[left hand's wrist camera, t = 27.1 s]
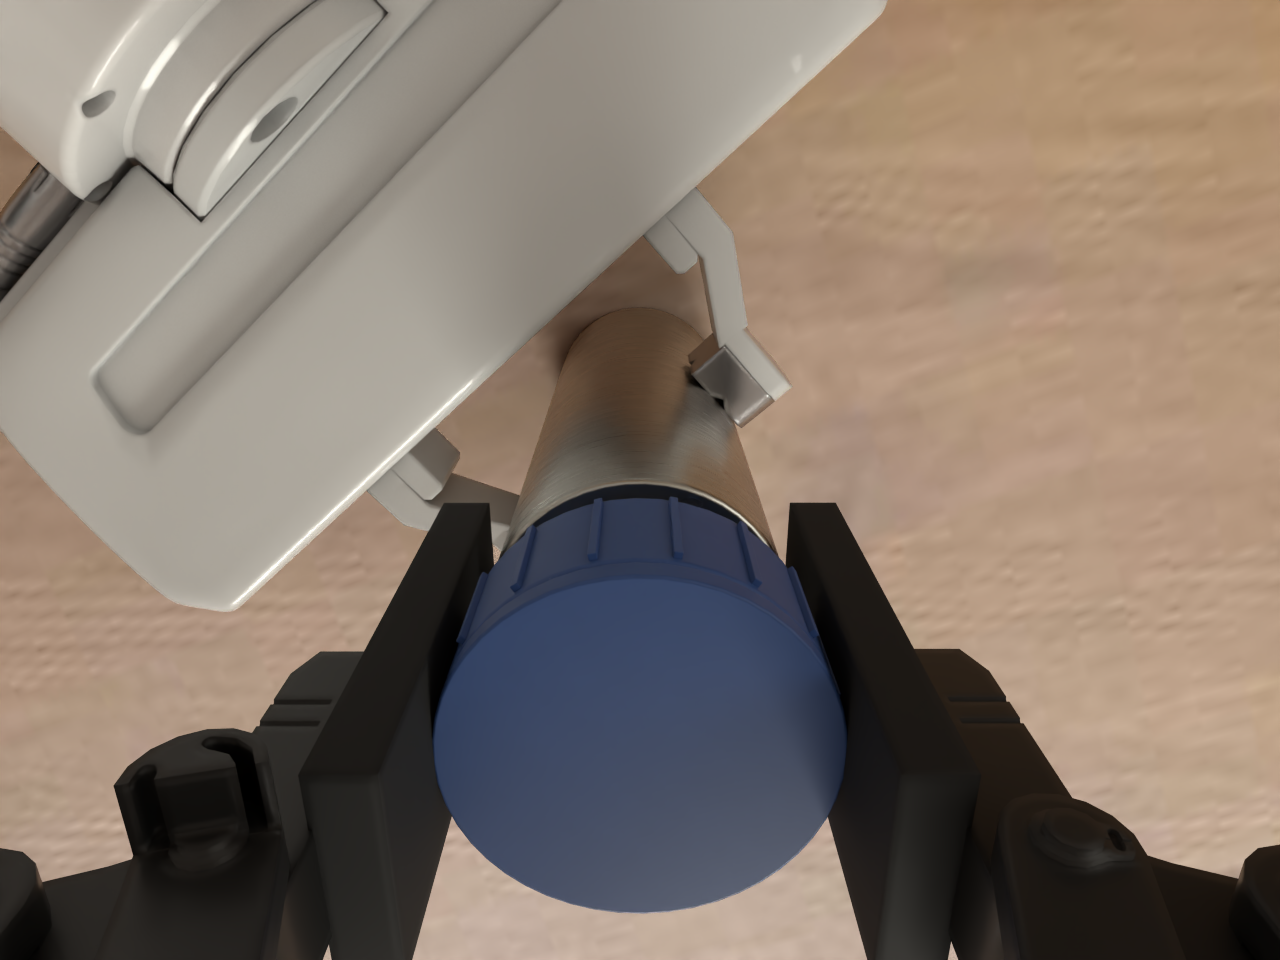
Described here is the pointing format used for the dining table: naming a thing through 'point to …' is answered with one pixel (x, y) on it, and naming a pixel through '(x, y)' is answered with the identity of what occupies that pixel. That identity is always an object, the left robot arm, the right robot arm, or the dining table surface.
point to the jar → (636, 429)
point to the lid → (639, 710)
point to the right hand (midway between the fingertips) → (665, 482)
